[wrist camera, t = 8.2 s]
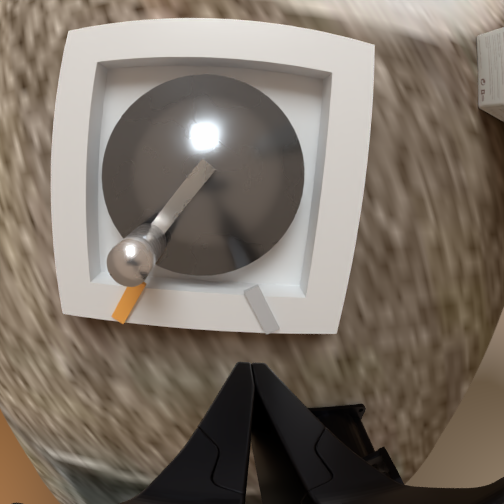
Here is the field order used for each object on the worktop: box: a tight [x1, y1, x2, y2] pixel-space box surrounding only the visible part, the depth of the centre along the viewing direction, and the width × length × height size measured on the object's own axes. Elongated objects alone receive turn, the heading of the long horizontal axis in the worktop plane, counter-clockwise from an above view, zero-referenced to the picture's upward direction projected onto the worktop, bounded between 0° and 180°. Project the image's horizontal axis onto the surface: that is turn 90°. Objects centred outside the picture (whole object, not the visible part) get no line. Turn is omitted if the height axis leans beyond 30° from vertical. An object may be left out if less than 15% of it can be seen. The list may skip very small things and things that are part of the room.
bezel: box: [51, 18, 375, 335], centre depth 17 cm, size 18×18×3 cm
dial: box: [102, 74, 305, 287], centre depth 15 cm, size 11×11×6 cm
